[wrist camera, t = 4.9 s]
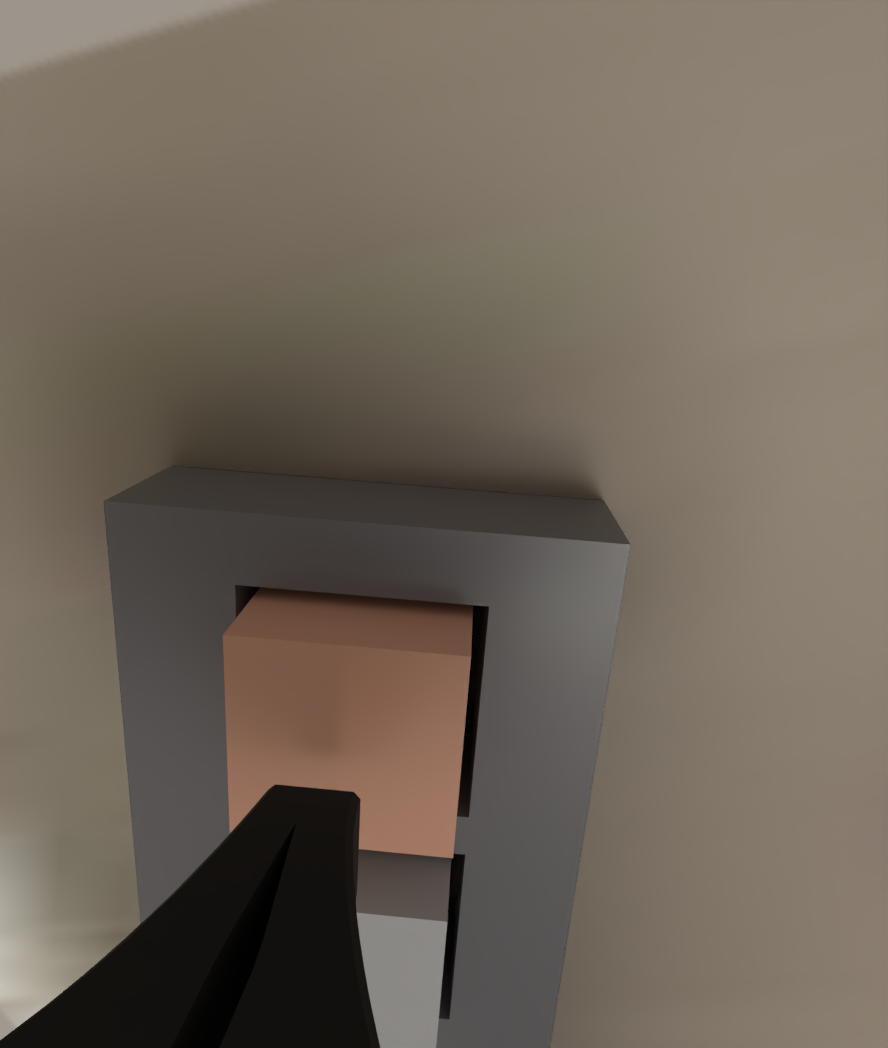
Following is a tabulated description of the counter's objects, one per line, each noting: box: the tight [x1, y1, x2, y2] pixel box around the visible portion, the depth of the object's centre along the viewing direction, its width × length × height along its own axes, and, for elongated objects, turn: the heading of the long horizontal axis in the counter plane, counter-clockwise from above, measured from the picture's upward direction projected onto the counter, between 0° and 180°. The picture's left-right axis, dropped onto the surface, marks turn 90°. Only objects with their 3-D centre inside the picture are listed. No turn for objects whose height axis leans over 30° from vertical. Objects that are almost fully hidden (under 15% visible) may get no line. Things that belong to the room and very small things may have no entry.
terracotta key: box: [223, 587, 473, 858], centre depth 14 cm, size 4×4×3 cm
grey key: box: [356, 849, 451, 1048], centre depth 16 cm, size 4×4×3 cm
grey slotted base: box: [104, 466, 631, 1048], centre depth 17 cm, size 20×10×3 cm, turn 176°
